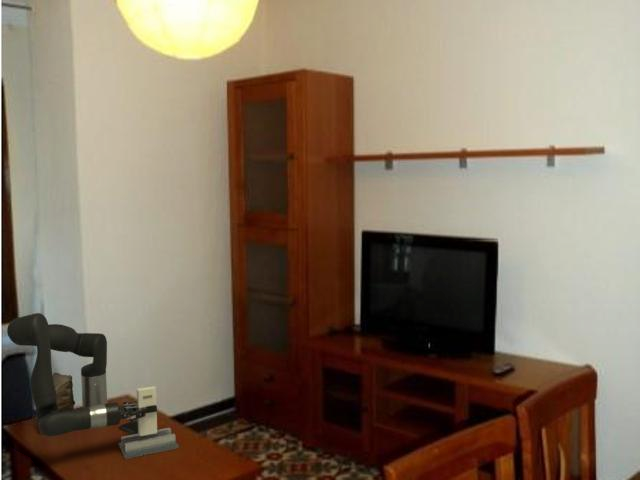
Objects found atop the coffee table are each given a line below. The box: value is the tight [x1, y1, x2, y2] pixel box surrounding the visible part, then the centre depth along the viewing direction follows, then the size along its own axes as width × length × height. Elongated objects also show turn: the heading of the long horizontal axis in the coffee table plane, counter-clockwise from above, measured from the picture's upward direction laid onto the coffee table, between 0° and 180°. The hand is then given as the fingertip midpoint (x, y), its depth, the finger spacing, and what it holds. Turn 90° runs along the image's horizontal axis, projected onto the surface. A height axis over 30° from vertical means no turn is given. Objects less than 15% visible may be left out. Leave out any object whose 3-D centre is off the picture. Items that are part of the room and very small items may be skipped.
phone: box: [118, 420, 159, 435], centre depth 232 cm, size 8×1×15 cm
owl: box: [39, 372, 76, 436], centre depth 234 cm, size 13×13×20 cm
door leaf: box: [136, 385, 158, 436], centre depth 216 cm, size 3×6×16 cm, turn 118°
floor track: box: [118, 427, 180, 460], centre depth 217 cm, size 12×18×4 cm, turn 118°
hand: (155, 406), depth 217 cm, fingers closed on door leaf, 2 cm apart
